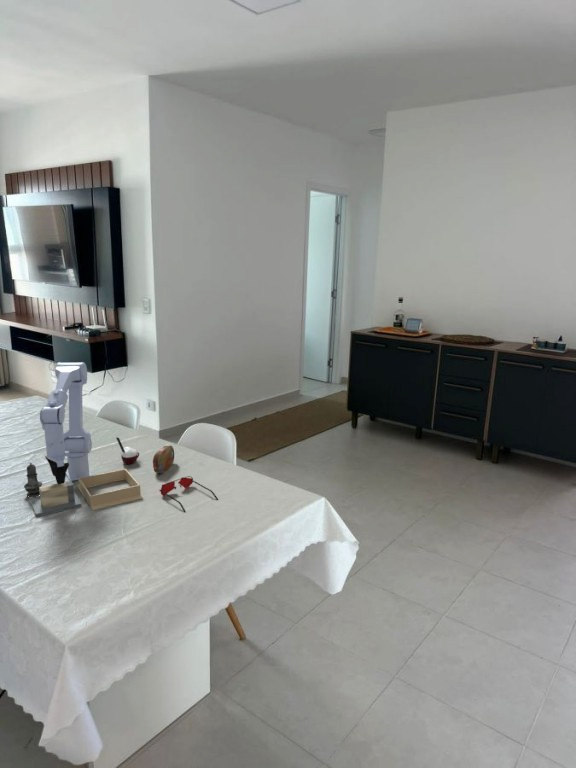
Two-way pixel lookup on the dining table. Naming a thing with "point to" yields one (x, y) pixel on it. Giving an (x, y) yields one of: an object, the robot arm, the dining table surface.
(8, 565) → the dining table surface
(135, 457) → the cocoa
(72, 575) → the dining table surface
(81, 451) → the robot arm
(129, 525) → the dining table surface
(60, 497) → the capped box
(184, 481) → the glasses
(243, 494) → the dining table surface
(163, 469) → the tin
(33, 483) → the salt shaker
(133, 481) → the wooden tray
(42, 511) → the slate board
